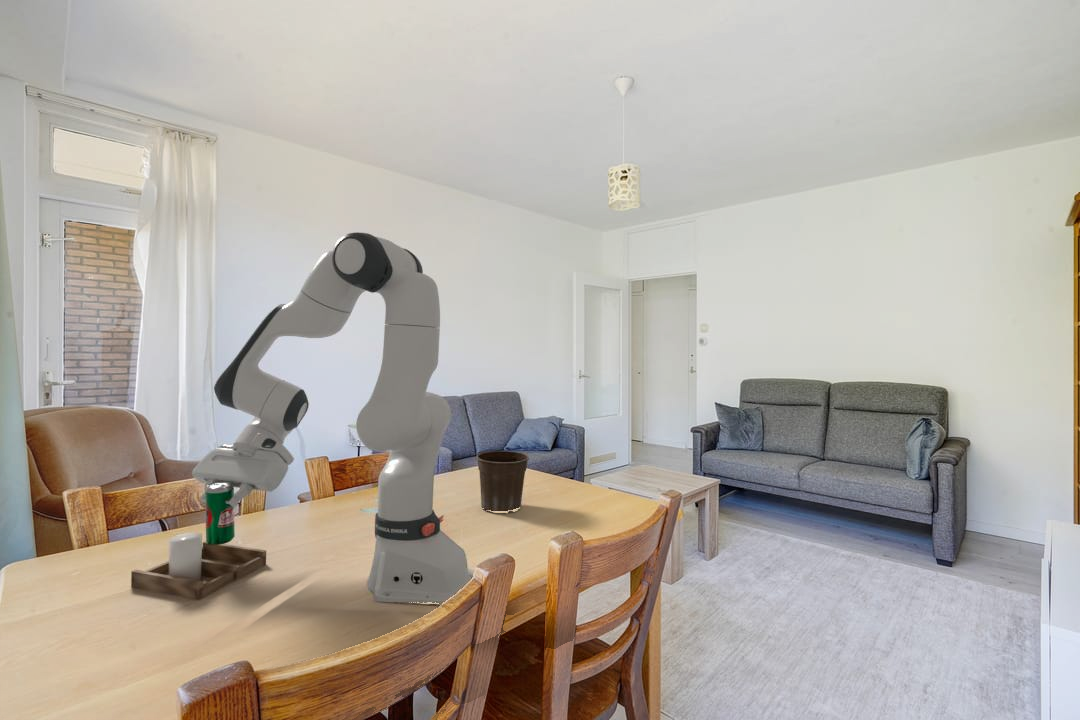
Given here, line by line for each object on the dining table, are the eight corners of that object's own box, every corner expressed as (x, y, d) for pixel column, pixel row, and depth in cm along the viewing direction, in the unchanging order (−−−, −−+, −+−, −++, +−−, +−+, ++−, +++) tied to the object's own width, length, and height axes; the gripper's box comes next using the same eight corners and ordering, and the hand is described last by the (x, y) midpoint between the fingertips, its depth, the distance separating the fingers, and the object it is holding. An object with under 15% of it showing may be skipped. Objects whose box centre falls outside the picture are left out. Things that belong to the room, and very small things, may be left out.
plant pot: (526, 517, 144) (528, 462, 144) (471, 515, 144) (472, 460, 144) (528, 501, 160) (529, 451, 160) (478, 499, 161) (480, 449, 160)
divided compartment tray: (265, 569, 106) (266, 550, 106) (198, 606, 90) (198, 583, 90) (205, 560, 110) (205, 541, 110) (131, 593, 94) (131, 571, 94)
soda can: (222, 547, 101) (221, 489, 100) (199, 545, 102) (198, 488, 101) (240, 536, 106) (239, 481, 105) (218, 535, 107) (217, 480, 106)
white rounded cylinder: (207, 579, 98) (208, 534, 98) (183, 591, 93) (184, 544, 93) (186, 575, 99) (187, 531, 99) (161, 587, 94) (162, 540, 94)
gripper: (210, 436, 112) (167, 490, 103) (286, 443, 108) (248, 501, 98) (226, 451, 117) (186, 505, 108) (300, 459, 112) (265, 516, 103)
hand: (217, 503), depth 103 cm, fingers closed on soda can, 5 cm apart
